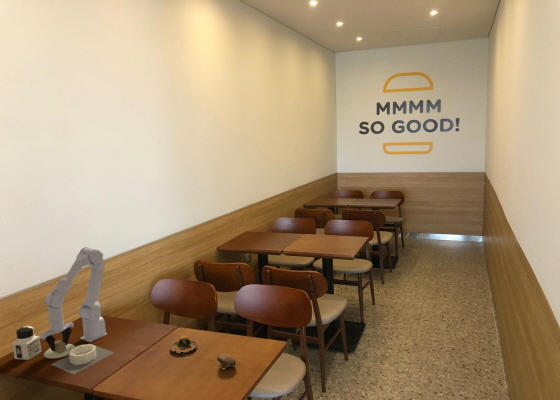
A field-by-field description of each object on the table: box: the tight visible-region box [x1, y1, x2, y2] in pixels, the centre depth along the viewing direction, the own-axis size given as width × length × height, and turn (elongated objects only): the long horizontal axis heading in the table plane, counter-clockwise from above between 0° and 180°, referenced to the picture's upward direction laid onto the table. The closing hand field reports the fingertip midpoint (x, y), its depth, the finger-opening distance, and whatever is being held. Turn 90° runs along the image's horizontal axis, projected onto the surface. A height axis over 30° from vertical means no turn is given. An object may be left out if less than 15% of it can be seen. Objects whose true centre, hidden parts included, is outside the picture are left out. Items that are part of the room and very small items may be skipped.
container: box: [12, 325, 42, 361], centre depth 193 cm, size 8×8×13 cm
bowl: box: [68, 343, 97, 365], centre depth 189 cm, size 10×10×4 cm
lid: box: [43, 339, 76, 359], centre depth 196 cm, size 13×13×5 cm
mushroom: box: [216, 353, 237, 370], centre depth 179 cm, size 8×8×6 cm
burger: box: [169, 331, 198, 354], centre depth 195 cm, size 12×12×8 cm
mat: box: [51, 344, 115, 375], centre depth 189 cm, size 20×16×1 cm
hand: (59, 347), depth 196 cm, fingers open, 5 cm apart
